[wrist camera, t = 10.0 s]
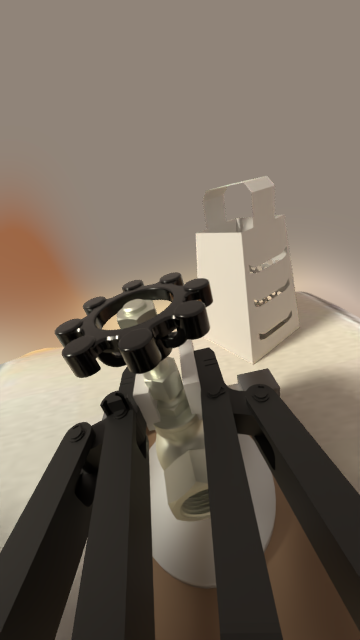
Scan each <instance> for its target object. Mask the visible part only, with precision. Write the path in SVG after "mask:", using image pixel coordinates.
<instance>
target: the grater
mask: <svg viewBox="0 0 360 640" xmlns="http://www.w3.org/2000/svg"><path fill="white" fill-rule="evenodd" d="M243 182H244V184H245V185H246V186H247V188H248V189H249V190H250V192H251V196H252V213H253V217H247V218H235V219H233V220H230V221H226V213H225V203H224V193H225V191H226V188H227V186H229V185H226V186H222V187H218V188H215V189H211V190H207V191H206V192H205V195H204V198H203V209H204V215H205V222H206V228H207V229H206V230H203V231H200V232H197V233H196V250H197V274H198V278H205V279H208V280H209V282H210V287H211V292H212V297H213V303H212V304H211V305H210V306H208V307H206V310H207V315H208V319H209V323H210V330H209V332H208V333H207V334H206V335H205V336H203V338H205V339H207V340H208V341H210V342H212V343H214V344H216V345H218V346H219V347H221V348H223V349H225V350H227V351H229V352H230V353H232V354H234V355H236V356H238V357H240V358H241V359H243V360H245V361H247V362H249V363H251V364H252V365H253V364H255V363H256V362H257V361H258V360H260V359H261V358H262V357H263V356H265V355H266V354H267V353H268V352H270V351H271V350H272V349H273V348H274V347H276V346H277V345H278V344H279V343H281V342H282V341H283V340H284V339H286V338H287V337H288V336H289V335H291V334H292V333H293V332H294V331H296V330H297V329H298V328H299V327H300V324H299V316H298V309H297V302H296V294H295V287H294V280H293V273H292V265H291V258H290V251H289V243H288V235H287V228H286V221H285V215H275V185H274V184H273V183H272V182H271V180H270V179H269V178H268V177H267V176H264V177H260V178H255V179H252V180H247V181H243ZM239 183H241V182H239ZM234 184H238V183H234ZM234 184H230V185H234ZM270 259H271V260H272V261H273V264H272V265H269V264H268V262H267V261H268V260H270ZM275 260H279V261H278V262H276V263H275ZM263 263H265V264H263ZM257 266H261V267H262V271H259V270H258V269H257ZM251 267H256V269H255V270H252V269H251ZM264 267H267V268H265V269H264ZM250 272H253V273H250ZM257 272H258V273H257ZM278 291H280V292H282V293H280V294H279V295H277V292H278ZM273 292H275V295H272V293H273ZM267 296H271V297H272V299H271V300H270V301H269V300H268V299H267ZM264 298H265V299H264ZM254 300H257V302H254ZM261 300H262V301H263V304H260V303H259V301H261ZM265 301H268V302H267V303H265ZM256 305H260V306H259V307H256ZM282 321H283V322H286V323H285V324H284V325H283V326H281V327H280V328H279V329H277V330H276V331H275V332H274V333H272V334H271V335H270V336H268V337H267V338H266V339H262V340H260V337H259V333H260V334H265V333H267V332H268V331H270V330H271V329H272V328H274V327H275V326H276V325H278V324H279V323H280V322H282Z"/></svg>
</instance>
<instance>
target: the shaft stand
mask: <svg viewBox="0 0 360 640" xmlns="http://www.w3.org/2000/svg"><path fill="white" fill-rule="evenodd" d="M237 379H238V384H233V385H229V386H228V387H229V388H231V389H234V390H238V391H246V390H247V389H248V388H249V387H250V386H252V385H255V384H265V385H267V386H269V387H271V388H272V389H273V390H274V391H275V392H276V393H277V394H278V396H279V397H280V387H279V385H278V384H277V382H276V380H275V379H274V377H273V375H272V374H271V372H270V371H269V369H263V370H258V371H254V372H249V373H245V374H240V375H237ZM105 418H107V416H106V414H105V413H104V415H103V419H102V420H104V419H105ZM146 434H147V436H148V440H149V465H150V495H151V526H152V557H153V588H154V618H155V640H220V626H219V613H218V601H217V589H216V577H215V565H214V553H213V540H212V528H211V517H210V518H208V519H204V520H200V521H193V522H188V521H181V520H177V519H176V518H175V516H174V515H173V513H172V511H171V509H170V507H169V505H168V500H167V493H166V485H165V478H164V470H163V469H162V467H161V465H160V462H159V460H158V457H157V452H156V435H157V432H156V431H155V430H151V431H149V429H148V427H147V426H146ZM238 438H239V443H240V447H241V452H242V456H243V461H244V465H245V470H246V474H247V479H248V483H249V488H250V492H251V497H252V501H253V506H254V510H255V515H256V520H257V524H258V529H259V533H260V538H261V542H262V547H263V551H264V556H265V560H266V565H267V569H268V574H269V578H270V583H271V587H272V592H273V596H274V601H275V605H276V610H277V614H278V619H279V623H280V628H281V632H282V636H283V640H360V632H359V630H358V628H357V626H356V624H355V623H354V621H353V619H352V617H351V615H350V613H349V612H348V610H347V608H346V606H345V604H344V603H343V601H342V599H341V597H340V595H339V594H338V592H337V590H336V588H335V586H334V585H333V583H332V581H331V579H330V577H329V576H328V574H327V572H326V570H325V568H324V566H323V565H322V563H321V561H320V559H319V557H318V556H317V554H316V552H315V550H314V548H313V547H312V545H311V543H310V541H309V539H308V538H307V536H306V534H305V532H304V530H303V529H302V527H301V525H300V523H299V521H298V519H297V518H296V516H295V514H294V512H293V510H292V509H291V507H290V505H289V503H288V501H287V500H286V498H285V496H284V494H283V492H282V491H281V489H280V487H279V485H278V483H277V482H276V480H275V478H274V476H273V474H272V472H271V471H270V469H269V467H268V465H267V463H266V462H265V460H264V458H263V456H262V454H261V453H260V451H259V449H258V447H257V445H256V444H255V442H254V440H253V438H252V436H251V435H244V434H238Z"/></svg>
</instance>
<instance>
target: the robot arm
mask: <svg viewBox="0 0 360 640" xmlns="http://www.w3.org/2000/svg"><path fill="white" fill-rule="evenodd" d="M179 353H180V362H181V371H182V380H183V387H184V390H185V393H186V396H187V400H188V403H189V406H190V409H191V413H192V414H197V416H198V418H199V420H203V431H204V443H205V455H206V467H207V479H208V492H209V504H210V516H211V528H212V540H213V553H214V565H215V577H216V589H217V601H218V613H219V626H220V640H283V636H282V632H281V628H280V623H279V619H278V614H277V610H276V605H275V601H274V596H273V592H272V587H271V583H270V578H269V574H268V569H267V565H266V560H265V556H264V551H263V547H262V542H261V538H260V533H259V529H258V524H257V520H256V515H255V510H254V506H253V501H252V497H251V492H250V488H249V483H248V479H247V474H246V470H245V465H244V461H243V456H242V452H241V447H240V443H239V438H238V434H244V435H251V436H252V438H253V440H254V442H255V444H256V445H257V447H258V449H259V451H260V453H261V454H262V456H263V458H264V460H265V462H266V463H267V465H268V467H269V469H270V471H271V472H272V474H273V476H274V478H275V480H276V482H277V483H278V485H279V487H280V489H281V491H282V492H283V494H284V496H285V498H286V500H287V501H288V503H289V505H290V507H291V509H292V510H293V512H294V514H295V516H296V518H297V519H298V521H299V523H300V525H301V527H302V529H303V530H304V532H305V534H306V536H307V538H308V539H309V541H310V543H311V545H312V547H313V548H314V550H315V552H316V554H317V556H318V557H319V559H320V561H321V563H322V565H323V566H324V568H325V570H326V572H327V574H328V576H329V577H330V579H331V581H332V583H333V585H334V586H335V588H336V590H337V592H338V594H339V595H340V597H341V599H342V601H343V603H344V604H345V606H346V608H347V610H348V612H349V613H350V615H351V617H352V619H353V621H354V623H355V624H356V626H357V628H358V630H359V632H360V495H359V494H358V492H357V491H356V490H355V489H354V488H353V486H352V485H351V484H350V483H349V481H348V480H347V479H346V478H345V476H344V475H343V474H342V473H341V472H340V470H339V469H338V468H337V467H336V465H335V464H334V463H333V462H332V461H331V459H330V458H329V457H328V456H327V454H326V453H325V452H324V451H323V450H322V448H321V447H320V446H319V445H318V443H317V442H316V441H315V440H314V438H313V437H312V436H311V435H310V434H309V432H308V431H307V430H306V429H305V427H304V426H303V425H302V424H301V423H300V421H299V420H298V419H297V418H296V416H295V415H294V414H293V413H292V412H291V410H290V409H289V408H288V407H287V405H286V404H285V403H284V402H283V400H282V399H281V398H280V397H279V396H278V394H277V393H276V392H275V391H274V390H273V389H272V388H271V387H269V386H267V385H265V384H255V385H252V386H250V387H249V388H248V389H247V390H246V391H238V390H234V389H231V388H229V387H228V386H227V385H226V384H225V383H224V380H223V377H222V374H221V371H220V368H219V365H218V362H217V359H216V356H215V353H214V351H212V350H211V349H210V348H205V349H200V350H196V351H194V347H193V343H192V340H188V339H187V341H186V342H185V343H184V344H183V345H181V346H179ZM100 406H101V408H102V409H103V411H104V413H105V414H106V416H107V418H105V419H104V420H102V421H100V422H98V423H96V424H94V425H92V426H91V425H90V424H89V423H87V422H82V423H78V424H76V425H74V426H73V427H72V428H71V429H69V430H68V432H67V433H66V434H65V436H64V438H63V439H62V441H61V443H60V445H59V447H58V449H57V450H56V452H55V454H54V456H53V458H52V460H51V461H50V463H49V465H48V467H47V469H46V471H45V472H44V474H43V476H42V478H41V480H40V481H39V483H38V485H37V487H36V489H35V491H34V492H33V494H32V496H31V498H30V500H29V502H28V503H27V505H26V507H25V509H24V511H23V513H22V514H21V516H20V518H19V520H18V522H17V523H16V525H15V527H14V529H13V531H12V533H11V534H10V536H9V538H8V540H7V542H6V544H5V545H4V547H3V549H2V551H1V553H0V640H54V639H55V636H56V633H57V630H58V627H59V624H60V621H61V618H62V615H63V612H64V609H65V605H66V602H67V599H68V596H69V593H70V590H71V587H72V584H73V581H74V578H75V575H76V571H77V568H78V565H79V562H80V559H81V556H82V553H83V550H84V547H85V544H86V541H87V545H86V551H85V558H84V564H83V570H82V577H81V583H80V589H79V595H78V602H77V608H76V614H75V621H74V627H73V633H72V640H155V618H154V588H153V557H152V526H151V495H150V465H149V440H148V436H147V434H146V426H147V427H148V429H149V431H151V430H156V429H155V427H154V425H153V424H154V423H157V422H161V417H160V414H159V411H158V409H157V400H154V399H153V397H152V395H151V392H150V390H149V388H147V386H146V384H145V382H144V377H143V374H134V373H132V372H131V371H130V370H129V369H128V367H126V369H125V370H124V372H123V374H122V378H121V383H120V387H119V391H115V392H112V393H110V394H109V395H107V396H106V397H105V398H104V399H103V401H102V403H101V405H100ZM87 537H88V539H87Z"/></svg>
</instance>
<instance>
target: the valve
mask: <svg viewBox="0 0 360 640" xmlns="http://www.w3.org/2000/svg"><path fill="white" fill-rule="evenodd" d="M122 290H123V293H121V294H119V295H117V296H115V297H113V298H110V299H106V298H105V297H96V298H93V299H91V300H89V301H87V302H86V303H85V304H84V305H83V309H84V310H85V312H86V314H87V316H86V317H85V318H83V319H72V320H69V321H67V322H65V323H63V324H62V325H60V326H59V327H58V328H57V329H56V330H55V335H56V336H57V338H58V339H59V341H60V342H61V344H62V345H63V347H64V349H63V350H62V356H63V358H64V359H65V361H66V362H67V364H68V365H69V367H70V368H71V370H72V371H73V373H74V374H75V376H77V377H79V378H85V377H88V376H91V375H93V374H95V373H97V372H98V371H99V370H100V369H101V368H100V366H99V364H98V362H97V361H96V358H98V359H99V360H100V361H101V362H103V363H104V364H106V365H108V366H111V367H121V366H124V365H127V367H128V369H129V370H130V371H131V372H132V373H134V374H143V377H144V382H145V384H146V386H147V388H149V390H150V392H151V395H152V397H153V399H154V400H157V409H158V411H159V414H160V417H161V422H157V423H154V424H153V425H154V427H155V429H156V430H155V431H156V432H157V435H156V452H157V457H158V460H159V462H160V465H161V467H162V469H163V470H164V478H165V485H166V493H167V500H168V505H169V507H170V509H171V511H172V513H173V515H174V516H175V518H176V519H177V520H181V521H188V522H193V521H200V520H204V519H208V518H210V517H211V516H210V504H209V492H208V479H207V467H206V455H205V443H204V431H203V420H199V418H198V416H197V414H192V413H191V409H190V406H189V403H188V400H187V396H186V393H185V390H184V387H183V383H182V380H181V377H180V374H179V371H178V368H177V365H176V363H175V360H174V358H171V357H167V356H168V355H169V354H170V353H171V351H172V348H176V347H179V346H181V345H183V344H184V343H185V342H186V341H187V339H188V340H194V339H198V338H201V337H203V336H205V335H206V334H207V333H208V332H209V330H210V323H209V319H208V315H207V310H206V307H208V306H210V305H211V304H212V303H213V297H212V292H211V287H210V282H209V280H208V279H205V278H198V279H194V280H191V281H189V282H187V283H186V284H185V285H184V283H183V279H182V276H181V274H180V273H170V274H167V275H164V276H163V277H161V278H160V282H158V283H156V284H153V285H147V286H144V284H143V282H142V280H134V281H131V282H128V283H127V284H125V285H124V286H123V287H122ZM152 300H169V301H171V302H172V303H171V304H170V305H169V306H168V307H167V308H166V309H165V310H164V311H162V312H161V313H160V314H157V312H156V309H155V306H154V303H153V301H152ZM115 314H117V322H118V324H119V326H120V328H121V329H118V330H102V327H103V325H104V324H105V323H106V322H107V321H108V320H109V319H110V318H111V317H112V316H114V315H115ZM176 328H177V331H176V332H172V331H173V330H175V329H176Z"/></svg>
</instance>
